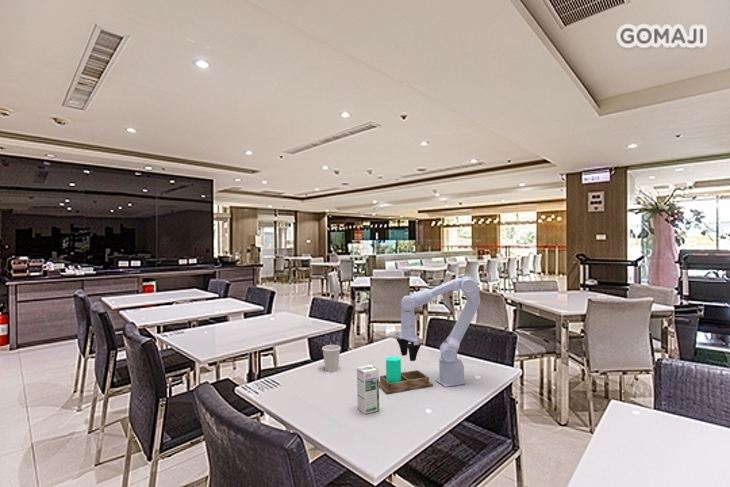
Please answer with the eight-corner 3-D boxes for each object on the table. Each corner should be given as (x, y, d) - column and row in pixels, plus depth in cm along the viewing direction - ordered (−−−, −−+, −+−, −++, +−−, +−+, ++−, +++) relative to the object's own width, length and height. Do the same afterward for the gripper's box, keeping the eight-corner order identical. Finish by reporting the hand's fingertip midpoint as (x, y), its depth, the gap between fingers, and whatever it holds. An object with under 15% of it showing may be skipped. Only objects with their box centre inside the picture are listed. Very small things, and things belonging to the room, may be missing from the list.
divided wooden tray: (420, 377, 156) (419, 369, 156) (432, 386, 147) (432, 377, 147) (376, 384, 149) (376, 375, 149) (386, 394, 140) (386, 385, 139)
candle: (399, 388, 142) (398, 357, 142) (384, 386, 144) (383, 356, 144) (402, 382, 148) (402, 353, 148) (388, 381, 150) (387, 351, 150)
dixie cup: (344, 368, 168) (344, 346, 168) (333, 374, 161) (333, 351, 161) (330, 365, 173) (329, 343, 173) (318, 370, 166) (318, 348, 166)
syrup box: (364, 415, 123) (364, 371, 123) (356, 407, 129) (356, 366, 129) (379, 411, 126) (379, 368, 126) (371, 404, 131) (370, 363, 131)
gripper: (391, 322, 158) (392, 354, 158) (407, 330, 145) (408, 364, 145) (406, 321, 161) (406, 352, 161) (423, 328, 147) (423, 362, 147)
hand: (408, 358), depth 153 cm, fingers open, 7 cm apart
